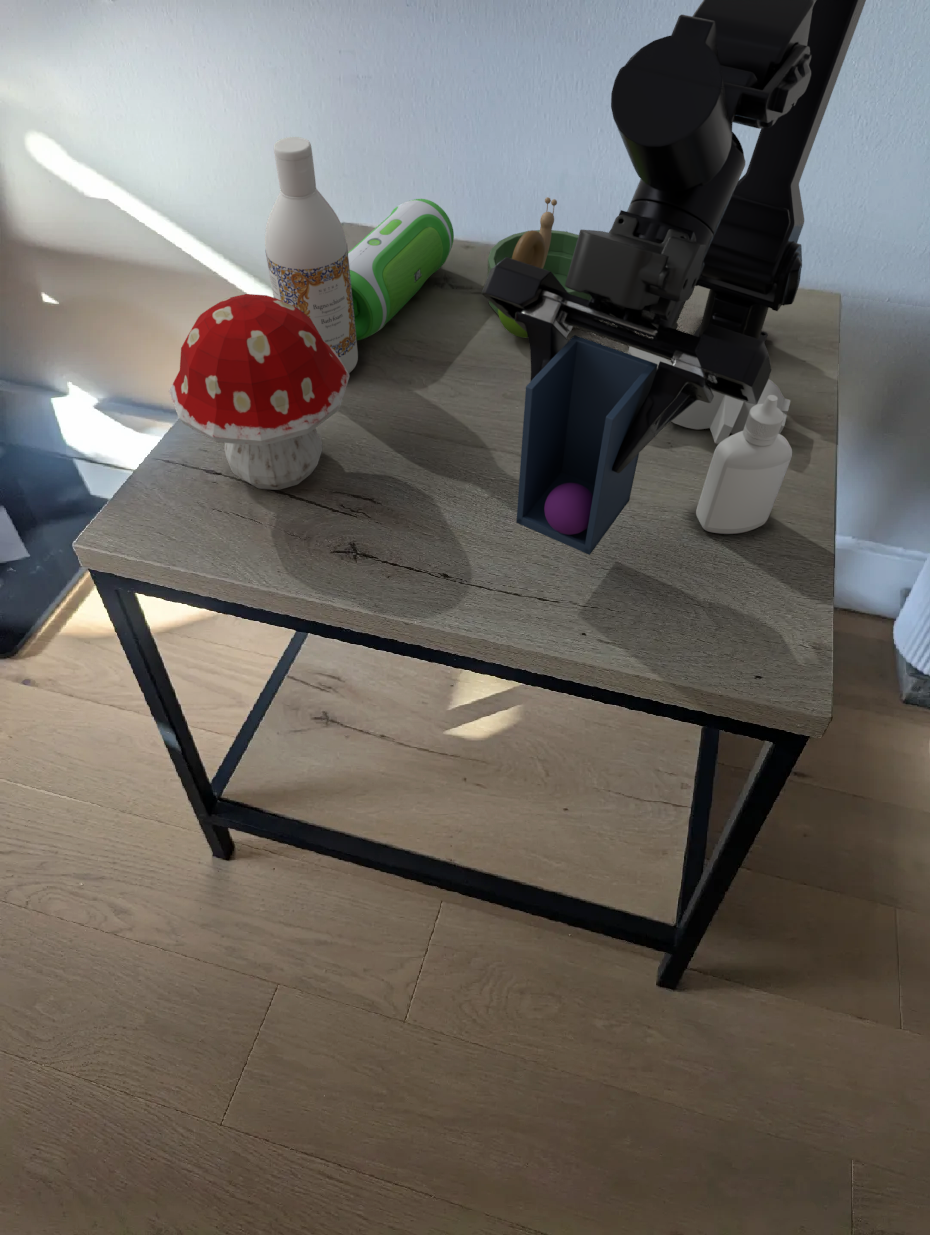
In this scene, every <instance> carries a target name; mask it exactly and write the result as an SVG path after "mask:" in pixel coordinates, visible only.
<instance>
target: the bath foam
mask: <svg viewBox="0 0 930 1235" xmlns="http://www.w3.org/2000/svg"><path fill="white" fill-rule="evenodd" d="M273 154H274V159H275V165H276V172H277V179H278V185H279V193H278V195H277V197H276V200H275V202H274V204H273V205H272V208H271V211H270V212H269V215H268V219H267V222H266V225H265V232H264V233H265V234H264V247H265V250H264V251H265V257H266V263H267V268H268V274H269V279H270V286H271V291H272V297H273V298H277V299H279V300H281V301H283V302H285V303H288V304H290V305H292V306H294V307H296V308H298V309H299V310H301V311H302V312H303V313H304V314H306V315H307V316H308V317H309V318H311V320H312V322H313V324H314V325H315V327H316V329H317V330H318V332H319V334H320V336H321V337H322V339H323V341H324V342H325V343H326V344H328V345H329V346H330V347H331V348H332V349H334V350H335V351H336V353H337V355H338V357H339V358H340V360H341V362H342V363H343V365H344V367H345V368H346V370H347V372H348V373H349V374H350V373H351V372H352V371H353V370H354V369H355V368H356V366H357V364H358V361H359V351H358V340H356V328H355V318H354V308H353V298H352V288H351V278H350V268H349V258H348V252H349V249H348V243H347V238H346V237H347V236H346V234H345V230H344V227H343V225H342V222H341V220H340V218H339V216H338V215H337V213H336V212H335V210H334V208H333V207H332V206H331V205H330V203H329V202H328V201H327V200H326V198H325V197H324V196H323V195H322V193H321V192H320V191H319V190H318V188H317V182H316V181H317V180H316V173H315V164H314V157H313V148H312V143H311V142H310V141H309V140H308V139H307V138H304V137H299V136H288V137H287V136H286V137H283V138H281V139H279V140H277V141H275V143H274V144H273Z"/></svg>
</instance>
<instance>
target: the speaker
mask: <svg viewBox="0 0 930 1235" xmlns="http://www.w3.org/2000/svg"><path fill="white" fill-rule="evenodd" d="M454 232H455V231H454V227H453V224H452V221H451V219H450V217H449V216H448V214H447V212H446V211H445V210H444V209H443V208H442V207H441V206H440V205H439V204H437V203H436V202H434V201H433V200H430V199H426V198H414V199H411V200H407V201H404V202H403V203H401V204H398V205H397V206H395V208H393V210H392V211H391V212H390V214H389V215H388V216H387V217H386V218H385V219H384V220H382V222H380V224H378V225H377V226H376V227H375V228H373V229H372V230H371V231H370V232H369V233H368V234H367V235H366V236H365V237H364V238H363V239H361V240H360V241H359V242H358V243H356V245H355V246H354V247H352V248H351V249H350V250H348V258H349V268H350V278H351V288H352V298H353V308H354V318H355V328H356V340H357V341H362V340H365V339H366V338H368V337H371V336H373V335H374V334H376V333H378V332H379V331H381V330H382V329H383V328H384V327H385V326H386V324H387V323H389V321H391V319H393V318H394V317H395V316H396V315H397V314H398V313H399V311H401V310H402V309H403V308H404V306H405V305H407V303H408V302H410V300H412V298H413V297H414V296H415V295H416V294H417V293H418V292H419V291H420V290H421V288H422V287H423V286H424V284H425V283H426V281H427V280H428V279H429V278H430V277H431V276H432V275H433V274H434V273H436V272H437V271H438V270H440V269H441V268H442V267H443V266H444V264H445V263H446V261H447V259H448V257H449V256H450V252H451V250H452V247H453V245H454V240H455V239H454V238H455V233H454Z"/></svg>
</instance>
